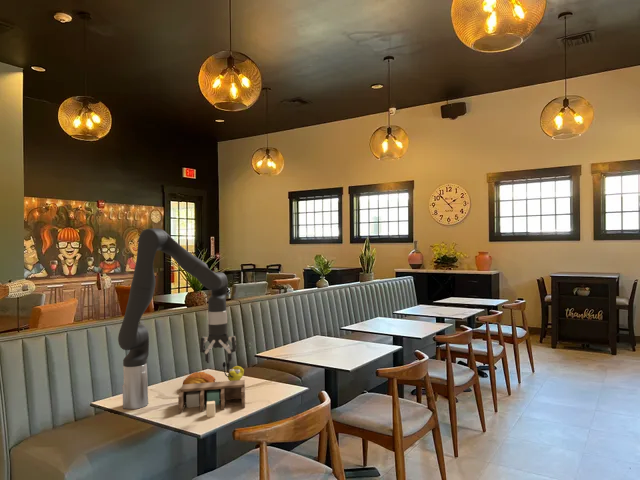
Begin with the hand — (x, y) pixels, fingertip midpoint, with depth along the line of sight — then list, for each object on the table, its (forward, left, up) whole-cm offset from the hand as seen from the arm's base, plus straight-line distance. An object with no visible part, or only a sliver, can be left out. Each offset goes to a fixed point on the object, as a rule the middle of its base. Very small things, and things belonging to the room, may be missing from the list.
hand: (219, 362), depth 187 cm
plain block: (-11, +9, -19) cm, 24 cm away
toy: (+5, +24, -19) cm, 31 cm away
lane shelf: (-3, +6, -19) cm, 20 cm away
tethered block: (-3, +2, -19) cm, 19 cm away
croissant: (-11, +32, -19) cm, 39 cm away
